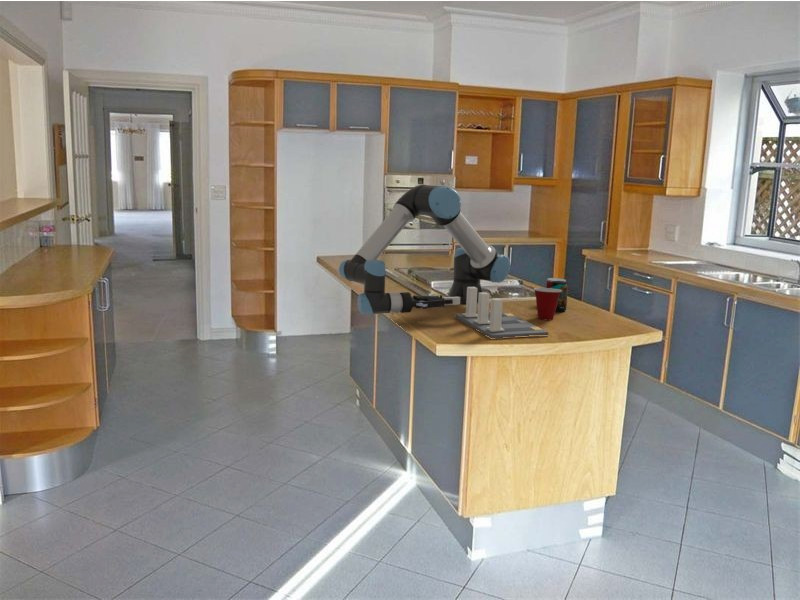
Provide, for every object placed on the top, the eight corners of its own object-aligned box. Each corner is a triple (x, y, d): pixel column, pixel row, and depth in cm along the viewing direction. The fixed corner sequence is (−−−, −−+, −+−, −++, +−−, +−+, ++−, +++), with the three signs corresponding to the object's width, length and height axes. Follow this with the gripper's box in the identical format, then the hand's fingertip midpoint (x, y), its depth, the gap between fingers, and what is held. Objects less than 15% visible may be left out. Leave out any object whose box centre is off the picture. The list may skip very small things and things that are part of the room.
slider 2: (473, 321, 260) (475, 292, 258) (486, 320, 261) (487, 291, 259) (478, 324, 256) (480, 294, 254) (491, 323, 257) (492, 294, 255)
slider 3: (486, 328, 250) (487, 298, 247) (499, 328, 251) (500, 297, 249) (491, 331, 246) (493, 300, 243) (504, 331, 247) (506, 300, 245)
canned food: (564, 307, 299) (566, 281, 296) (545, 305, 300) (547, 280, 298) (564, 303, 306) (566, 278, 304) (545, 302, 308) (547, 277, 305)
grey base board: (455, 317, 273) (455, 313, 273) (507, 315, 280) (507, 311, 279) (491, 339, 242) (491, 334, 242) (548, 336, 249) (548, 331, 249)
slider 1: (462, 314, 270) (463, 286, 268) (474, 314, 272) (476, 286, 269) (466, 317, 266) (468, 288, 264) (479, 316, 268) (480, 288, 265)
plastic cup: (559, 316, 281) (561, 286, 278) (559, 322, 270) (562, 291, 268) (531, 314, 283) (533, 285, 280) (531, 320, 272) (533, 289, 270)
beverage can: (566, 313, 287) (568, 284, 285) (548, 311, 289) (551, 283, 286) (565, 309, 294) (567, 281, 292) (548, 308, 295) (550, 280, 293)
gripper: (394, 308, 266) (452, 306, 273) (404, 316, 254) (465, 314, 261) (394, 289, 264) (453, 287, 271) (405, 296, 252) (466, 294, 259)
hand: (459, 300), depth 266 cm, fingers closed
